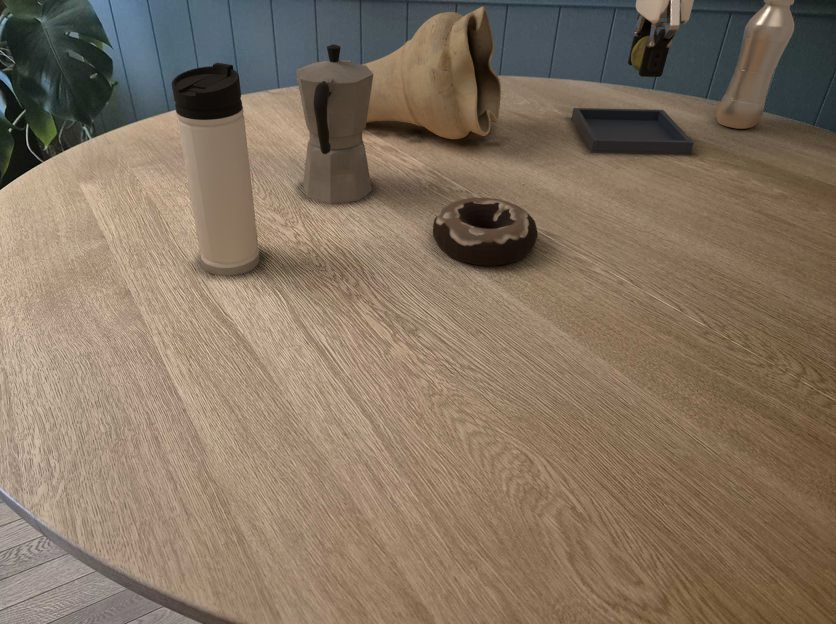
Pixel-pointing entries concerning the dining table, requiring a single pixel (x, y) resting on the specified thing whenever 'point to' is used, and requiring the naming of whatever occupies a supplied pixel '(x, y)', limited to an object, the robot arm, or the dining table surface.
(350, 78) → the coffeepot
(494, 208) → the donut
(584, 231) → the dining table surface
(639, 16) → the robot arm
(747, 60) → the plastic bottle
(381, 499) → the dining table surface
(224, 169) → the travel mug
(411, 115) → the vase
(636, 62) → the lime
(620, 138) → the square tray
